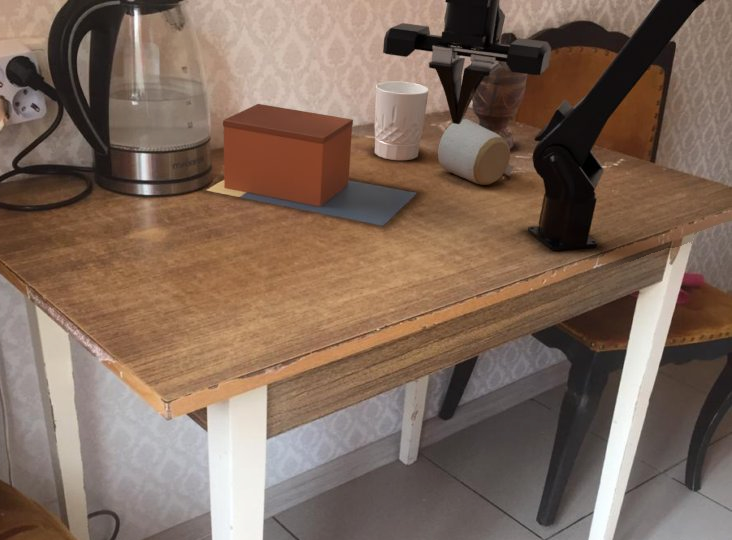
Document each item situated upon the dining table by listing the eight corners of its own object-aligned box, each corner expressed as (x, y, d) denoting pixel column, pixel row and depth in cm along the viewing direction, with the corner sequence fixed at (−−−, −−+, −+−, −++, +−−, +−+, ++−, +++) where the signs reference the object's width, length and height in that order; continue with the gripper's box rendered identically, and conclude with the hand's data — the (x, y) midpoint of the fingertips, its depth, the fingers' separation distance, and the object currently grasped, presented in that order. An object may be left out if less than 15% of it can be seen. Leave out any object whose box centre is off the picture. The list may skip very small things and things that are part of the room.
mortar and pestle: (486, 160, 134) (506, 21, 123) (441, 147, 138) (457, 12, 128) (525, 146, 141) (547, 15, 131) (481, 134, 146) (499, 6, 135)
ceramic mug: (473, 191, 121) (482, 135, 117) (433, 174, 126) (440, 120, 122) (524, 181, 126) (534, 128, 122) (484, 165, 132) (492, 113, 128)
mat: (416, 194, 119) (417, 192, 119) (383, 227, 108) (383, 225, 108) (253, 163, 126) (253, 162, 126) (205, 191, 115) (205, 190, 115)
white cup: (431, 156, 134) (439, 89, 128) (399, 165, 129) (406, 96, 123) (393, 143, 138) (398, 78, 133) (360, 152, 133) (364, 85, 128)
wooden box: (349, 185, 120) (353, 119, 115) (320, 207, 112) (323, 137, 107) (257, 167, 124) (257, 103, 119) (223, 188, 116) (222, 120, 111)
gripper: (570, -16, 101) (545, 120, 109) (417, -33, 106) (404, 98, 114) (553, -6, 92) (527, 141, 100) (387, -24, 97) (376, 117, 105)
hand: (456, 123), depth 105 cm, fingers closed
